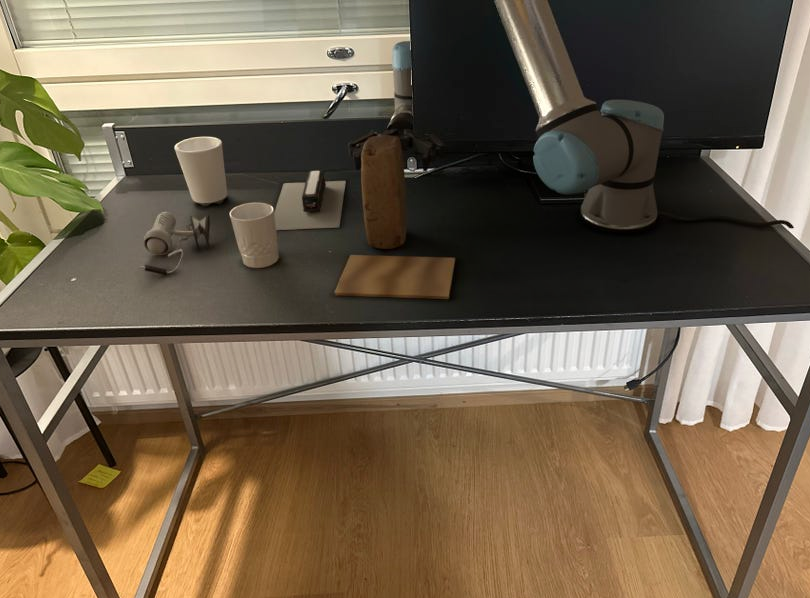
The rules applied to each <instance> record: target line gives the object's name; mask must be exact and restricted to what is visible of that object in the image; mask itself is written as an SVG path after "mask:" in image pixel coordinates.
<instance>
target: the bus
mask: <svg viewBox="0 0 810 598" xmlns="http://www.w3.org/2000/svg"><path fill="white" fill-rule="evenodd" d="M325 173H326V170H325V169H323V170H309V171H308V172H307V176H306V180H305V182H285V183H283V185H282V187H281V191H280V193H279V197H278V200H277V203H276V205H275V208H274V217H275V224H276V231H286V230H287V231H289V230H311V229H331V228H332V229H334V228H335V229H336V228H340V224H341V218H342V210H343V204H344V196H345V188H346V183H347V181H346V180H334V181H333V180H332V181H329V180H328V181H326V180H325Z"/></svg>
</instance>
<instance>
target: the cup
mask: <svg viewBox="0 0 810 598" xmlns="http://www.w3.org/2000/svg"><path fill="white" fill-rule="evenodd" d="M222 142H223V141H222V140H221V139H220V138H217V137H214V136H196V137H190V138H187V139H183V140H181V141H179V142H177V143H176V144H175V145H174V151H175V153H176V156H177V159H178V163H179V165H180V167H181V171H182V172H183V177H184V180H185V182H186V185H187V189H188V190H189V194H190V197H191V199H192V201H193V203H194V204H200V205H201V206H203V207H208V206H210V205H211V204H217V205H220V204H222V203H223V202H224V200H225V199H226V198H228V189H227V179H226V170H225V161H224V152H223V151H224V149H223V143H222Z"/></svg>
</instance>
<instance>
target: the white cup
mask: <svg viewBox="0 0 810 598" xmlns="http://www.w3.org/2000/svg"><path fill="white" fill-rule="evenodd" d="M274 212H275V208H274V207H273V206H272V205H271V204H269V203H265V202H258V201H257V202H255V201H254V202H247V203H243V204H240V205H237V206H235V207H233V208H232V209H231V210H230V211H229V218H230V221H231V226H232V230H233V232H234V235H235V241H236V244H237V247H238V250H239V253H240V255H241V259H242V263H243V265H244V266H246V267H248V268H251V269H252V268H253V269H261V268H266V267H267V268H268V267H269V266H272V265H274V264H275V263H277V262H278V260H279V258H280V256H279V248H278V235H277V234H278V233H277V230H276V224H275V217H274Z"/></svg>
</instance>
